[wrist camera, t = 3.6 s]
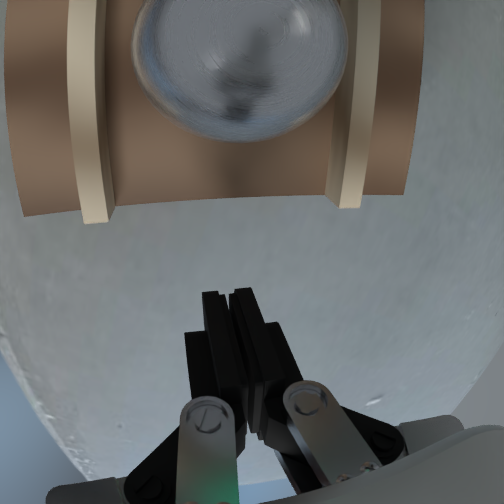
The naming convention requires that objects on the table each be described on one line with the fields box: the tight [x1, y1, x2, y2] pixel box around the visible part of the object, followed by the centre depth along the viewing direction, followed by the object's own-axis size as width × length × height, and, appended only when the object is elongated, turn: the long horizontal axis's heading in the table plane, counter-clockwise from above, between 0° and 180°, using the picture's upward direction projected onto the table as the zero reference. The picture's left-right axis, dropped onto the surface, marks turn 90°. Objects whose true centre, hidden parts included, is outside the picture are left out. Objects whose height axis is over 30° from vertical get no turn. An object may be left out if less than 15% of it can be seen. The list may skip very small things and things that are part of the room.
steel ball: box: [131, 0, 348, 143], centre depth 8 cm, size 6×6×6 cm
